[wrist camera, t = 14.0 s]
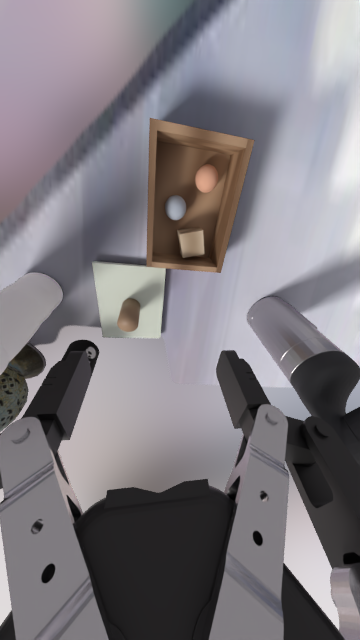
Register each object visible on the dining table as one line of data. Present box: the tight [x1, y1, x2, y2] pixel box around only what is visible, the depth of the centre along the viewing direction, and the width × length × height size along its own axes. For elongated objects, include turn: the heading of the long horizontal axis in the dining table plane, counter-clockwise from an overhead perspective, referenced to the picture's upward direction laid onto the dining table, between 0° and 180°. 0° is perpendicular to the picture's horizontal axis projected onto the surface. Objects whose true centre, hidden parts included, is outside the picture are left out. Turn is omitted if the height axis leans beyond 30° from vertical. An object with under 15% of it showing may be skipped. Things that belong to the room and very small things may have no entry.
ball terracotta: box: [195, 164, 218, 193], centre depth 26 cm, size 3×3×3 cm
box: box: [146, 118, 254, 273], centre depth 27 cm, size 12×16×6 cm
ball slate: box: [165, 195, 186, 220], centre depth 28 cm, size 3×3×3 cm
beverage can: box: [61, 340, 99, 376], centre depth 39 cm, size 7×7×12 cm
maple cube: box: [177, 227, 204, 258], centre depth 31 cm, size 4×4×4 cm
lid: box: [92, 261, 166, 338], centre depth 36 cm, size 13×17×8 cm
